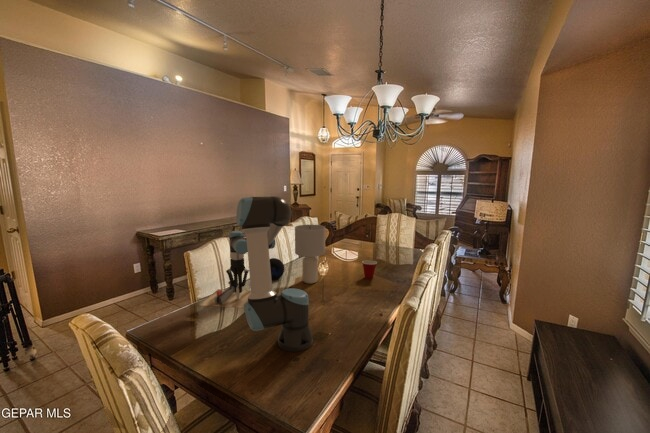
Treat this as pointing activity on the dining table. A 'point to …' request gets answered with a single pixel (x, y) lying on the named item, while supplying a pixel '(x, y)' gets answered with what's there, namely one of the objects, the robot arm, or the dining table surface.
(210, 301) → the board
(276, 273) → the decorative sphere
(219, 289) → the tab
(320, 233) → the lamp
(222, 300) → the grey lever with knob
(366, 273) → the plastic cup
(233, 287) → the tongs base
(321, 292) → the dining table surface
